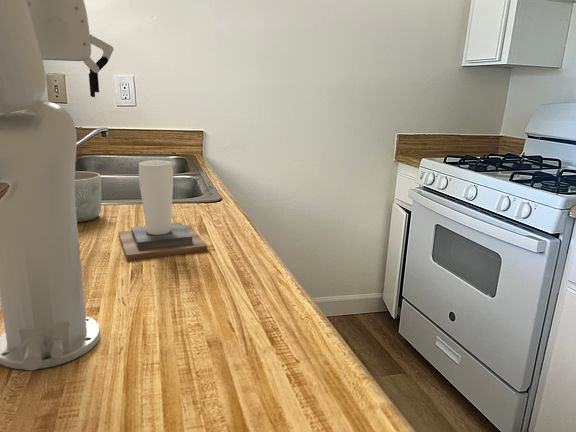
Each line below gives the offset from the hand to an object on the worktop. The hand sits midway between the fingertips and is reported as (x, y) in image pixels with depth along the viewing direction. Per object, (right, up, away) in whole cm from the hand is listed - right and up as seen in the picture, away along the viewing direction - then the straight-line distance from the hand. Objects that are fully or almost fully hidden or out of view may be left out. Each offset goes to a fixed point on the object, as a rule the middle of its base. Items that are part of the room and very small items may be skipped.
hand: (62, 96), depth 81 cm
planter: (-15, -21, +40) cm, 48 cm away
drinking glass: (+10, -24, +22) cm, 34 cm away
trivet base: (+11, -26, +23) cm, 36 cm away
